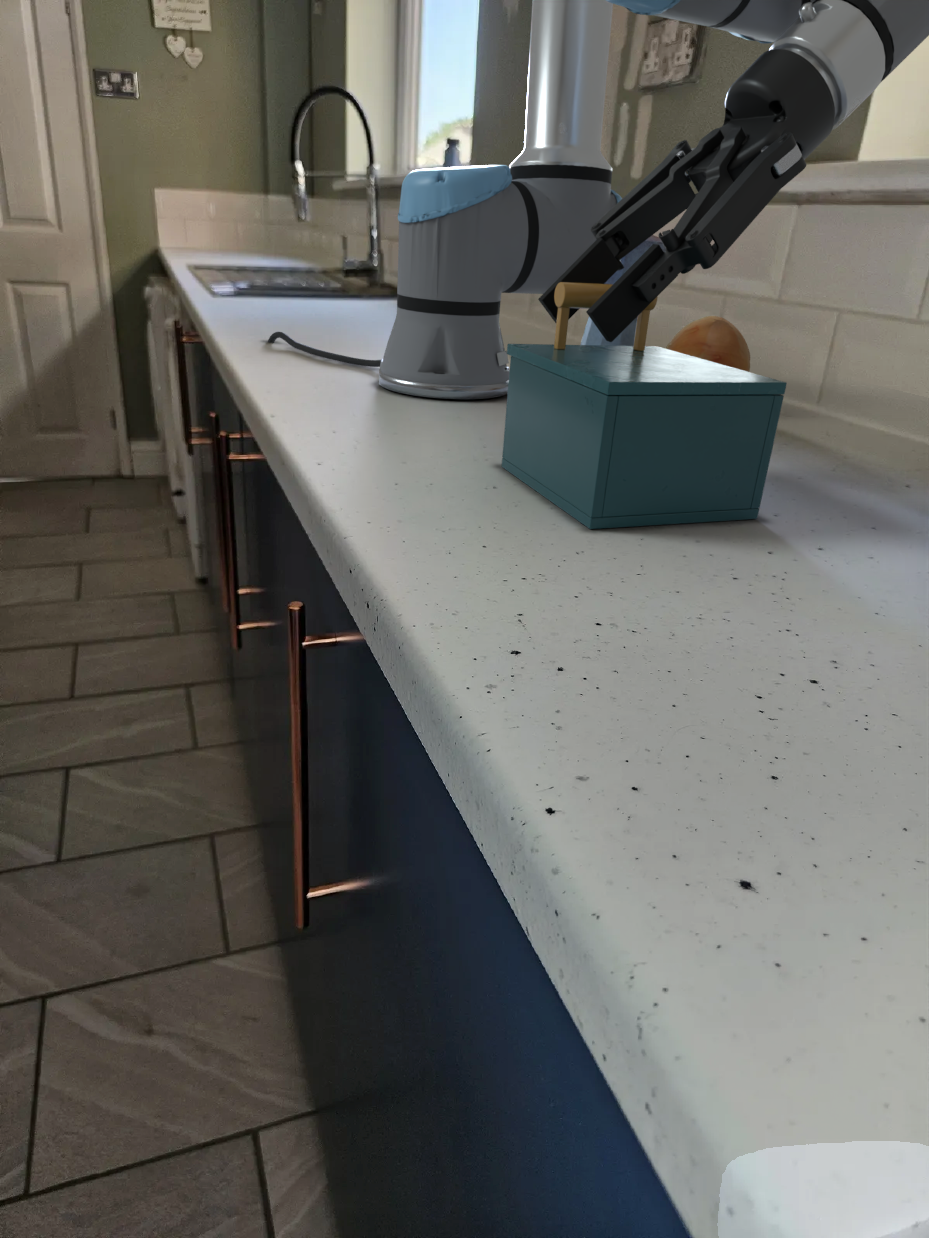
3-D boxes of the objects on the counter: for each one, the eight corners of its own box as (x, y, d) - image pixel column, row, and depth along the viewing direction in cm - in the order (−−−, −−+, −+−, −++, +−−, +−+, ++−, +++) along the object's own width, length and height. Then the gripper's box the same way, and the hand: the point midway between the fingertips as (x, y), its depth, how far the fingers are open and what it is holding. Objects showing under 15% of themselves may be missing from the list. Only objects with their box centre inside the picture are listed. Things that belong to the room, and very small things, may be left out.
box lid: (506, 354, 68) (512, 277, 66) (656, 356, 73) (667, 285, 70) (607, 395, 54) (620, 300, 52) (784, 394, 59) (803, 307, 56)
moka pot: (660, 385, 113) (687, 216, 105) (543, 373, 116) (560, 207, 107) (660, 374, 122) (685, 217, 113) (551, 364, 124) (567, 209, 116)
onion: (644, 396, 105) (657, 309, 101) (723, 399, 106) (739, 314, 102) (670, 413, 96) (685, 318, 92) (755, 417, 98) (774, 323, 94)
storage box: (501, 466, 71) (510, 355, 67) (645, 462, 76) (661, 357, 72) (589, 529, 58) (607, 396, 54) (757, 519, 63) (784, 395, 59)
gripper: (695, 61, 70) (492, 268, 71) (885, 20, 53) (613, 295, 54) (737, 142, 74) (544, 337, 75) (926, 129, 57) (672, 382, 58)
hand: (573, 319), depth 64 cm, fingers open, 7 cm apart
